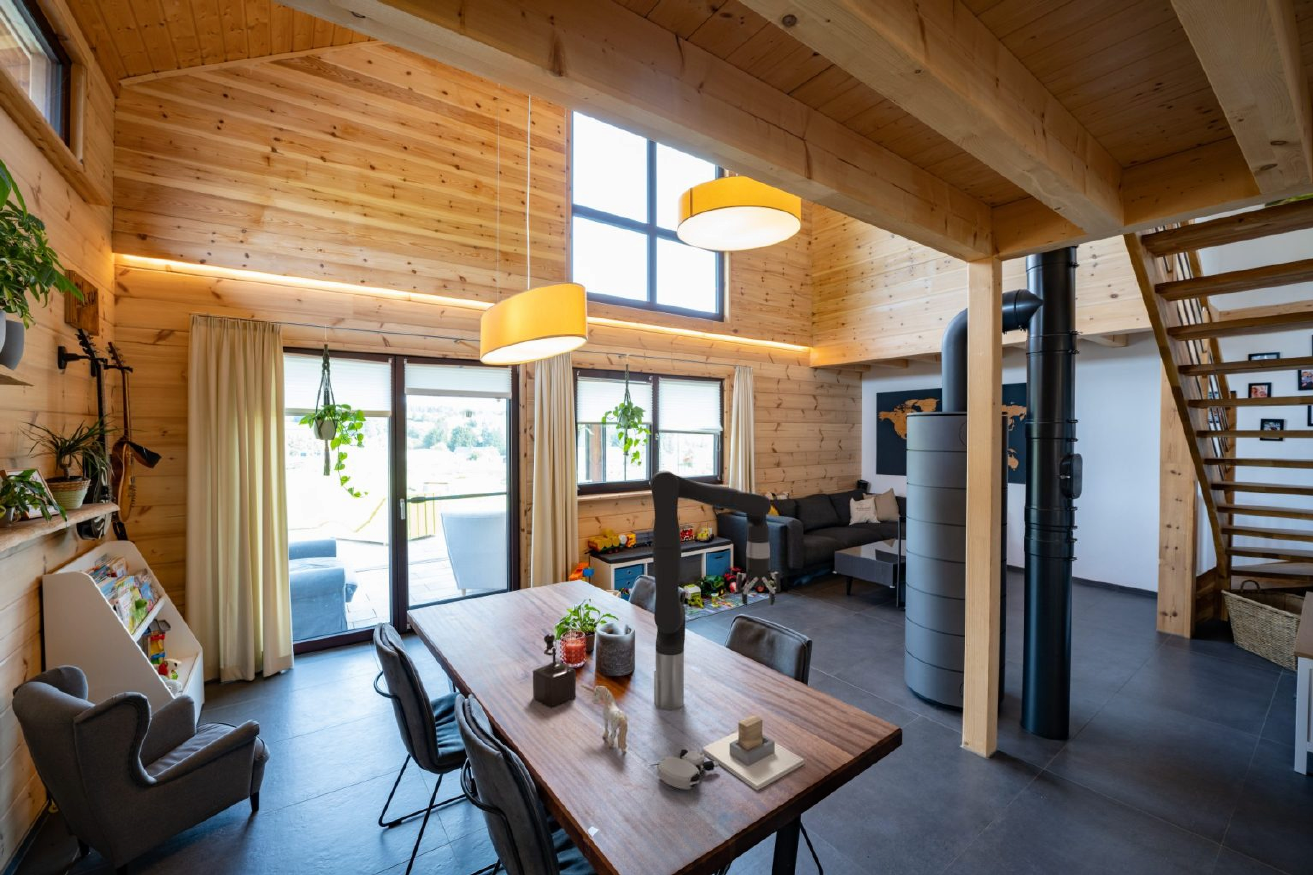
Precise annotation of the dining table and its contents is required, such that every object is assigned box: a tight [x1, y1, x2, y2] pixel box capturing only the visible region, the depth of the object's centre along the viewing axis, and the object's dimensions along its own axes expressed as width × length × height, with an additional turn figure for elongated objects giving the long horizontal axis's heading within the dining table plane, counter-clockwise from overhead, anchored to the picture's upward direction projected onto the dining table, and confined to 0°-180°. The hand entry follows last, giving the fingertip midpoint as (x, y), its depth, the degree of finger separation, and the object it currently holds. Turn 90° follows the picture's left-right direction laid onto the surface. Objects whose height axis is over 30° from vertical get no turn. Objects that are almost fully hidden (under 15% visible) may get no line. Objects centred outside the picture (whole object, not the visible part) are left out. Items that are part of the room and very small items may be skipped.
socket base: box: [701, 730, 805, 791], centre depth 145 cm, size 18×20×4 cm
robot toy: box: [650, 748, 720, 791], centre depth 137 cm, size 12×4×15 cm
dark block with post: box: [532, 633, 577, 709], centre depth 180 cm, size 16×11×18 cm
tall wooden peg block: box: [738, 714, 763, 752], centre depth 144 cm, size 3×6×9 cm, turn 127°
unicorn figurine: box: [580, 684, 628, 752], centre depth 153 cm, size 7×20×13 cm, turn 43°
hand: (758, 604), depth 176 cm, fingers open, 8 cm apart
